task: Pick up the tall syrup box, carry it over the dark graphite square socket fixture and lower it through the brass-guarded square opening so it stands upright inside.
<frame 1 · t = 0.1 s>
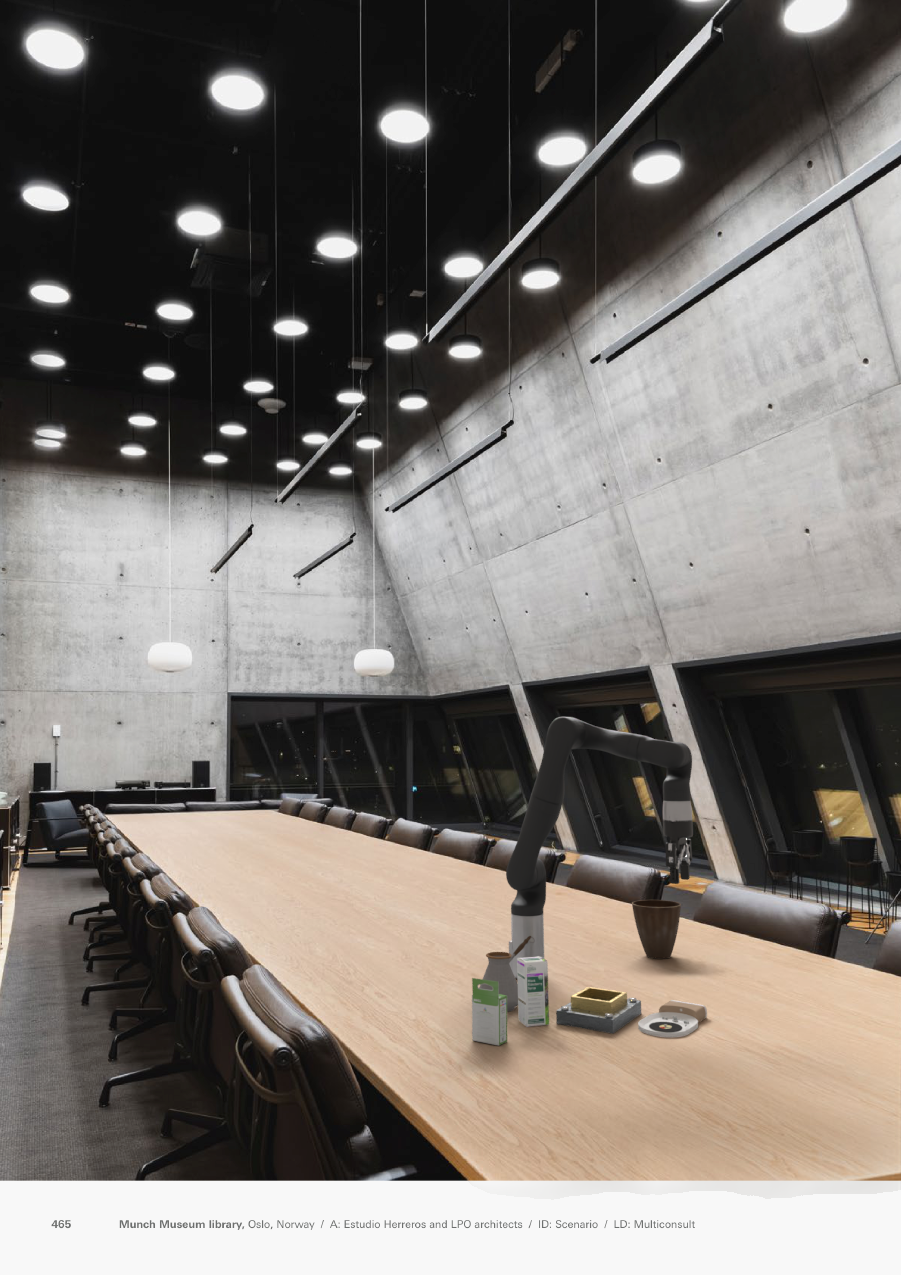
hand: (680, 881, 229), 29 cm above the table, fingers open, 8 cm apart
coffee pot: (510, 1004, 222), on the table
ink box: (490, 1042, 192), on the table
record player: (671, 1027, 203), on the table
plant pot: (658, 957, 272), on the table
syrup box: (533, 1023, 206), on the table
square socket fixture: (599, 1018, 208), on the table
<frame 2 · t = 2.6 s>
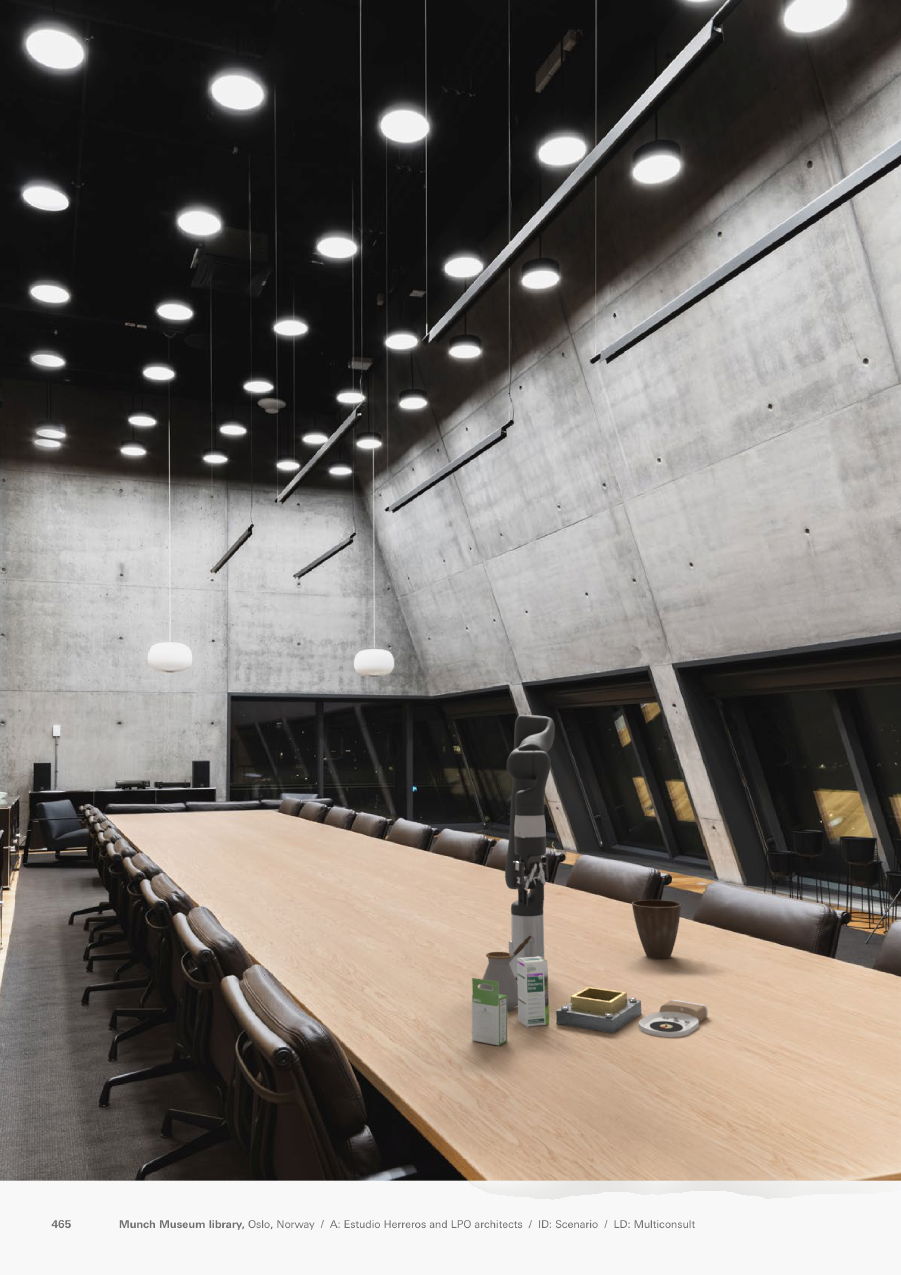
hand: (531, 903, 209), 27 cm above the table, fingers open, 8 cm apart
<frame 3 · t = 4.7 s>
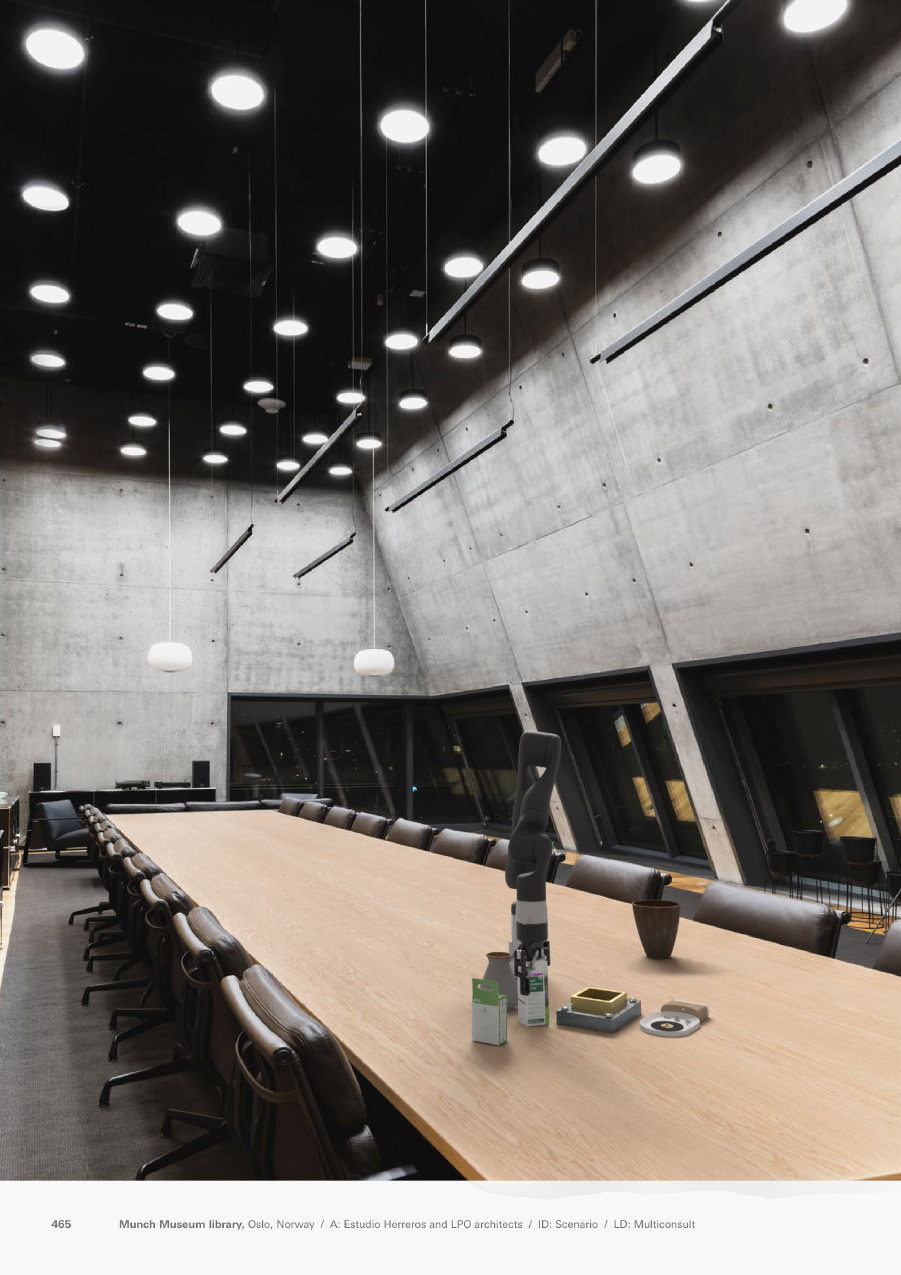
hand: (533, 991, 206), 7 cm above the table, fingers closed on syrup box, 8 cm apart
syrup box: (533, 1023, 206), on the table, touching gripper
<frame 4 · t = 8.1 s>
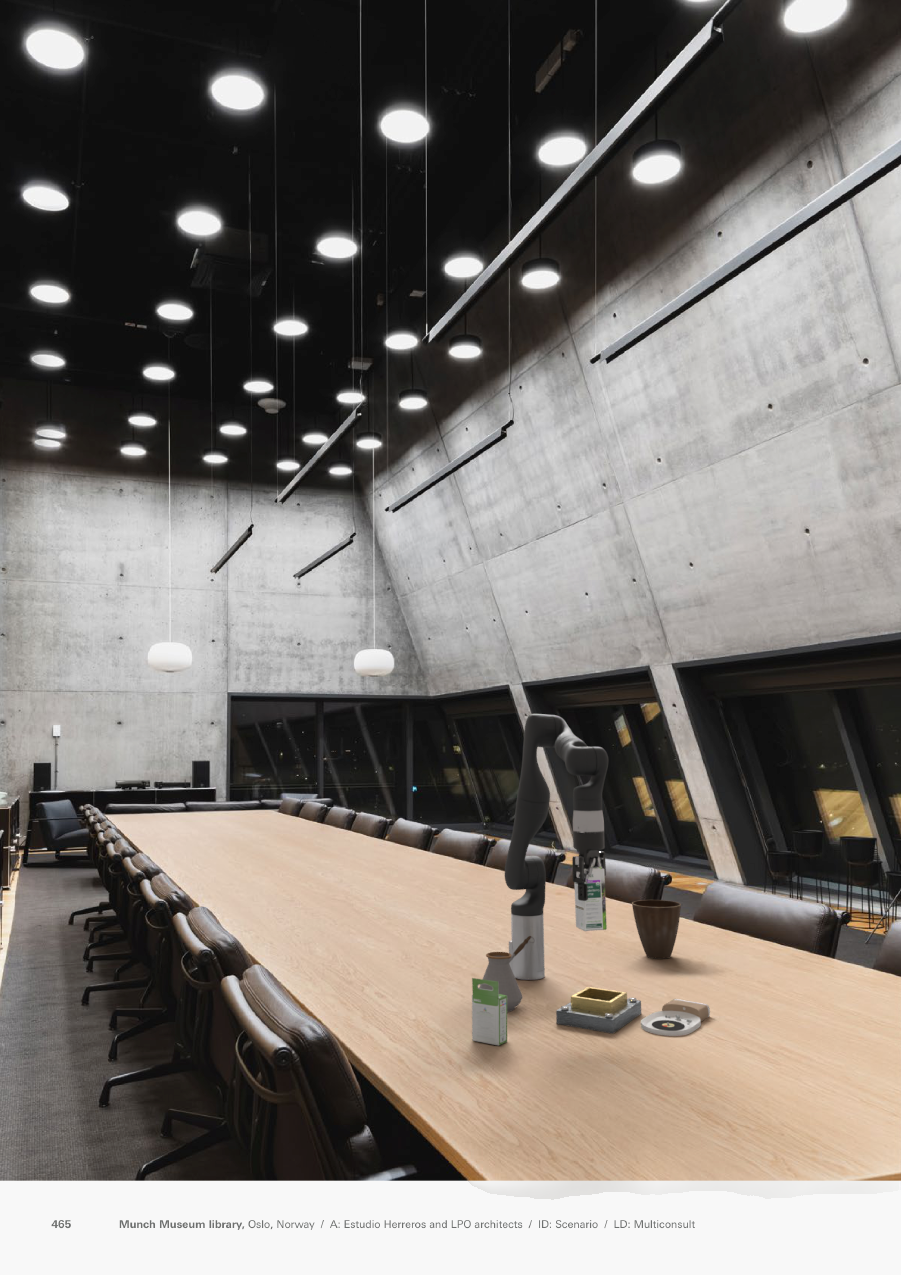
hand: (590, 898, 212), 28 cm above the table, fingers closed on syrup box, 8 cm apart
syrup box: (590, 929, 211), point 21 cm above the table, touching gripper
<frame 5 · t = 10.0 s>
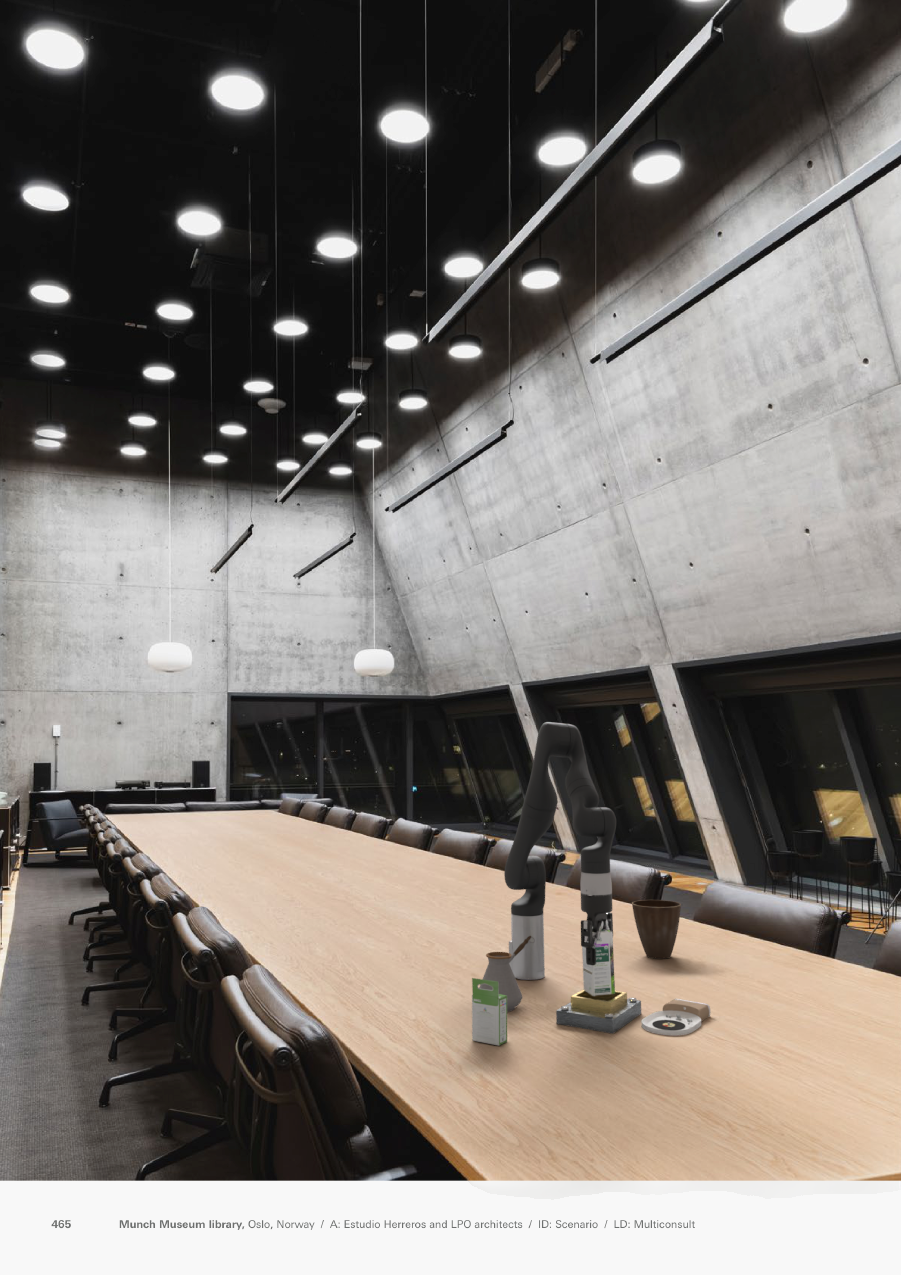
hand: (598, 961, 210), 13 cm above the table, fingers closed on syrup box, 8 cm apart
syrup box: (598, 993, 209), point 6 cm above the table, touching gripper
when the fingers open (8 cm above the table, at t = 11.6 s): syrup box drops 1 cm, resting in square socket fixture.
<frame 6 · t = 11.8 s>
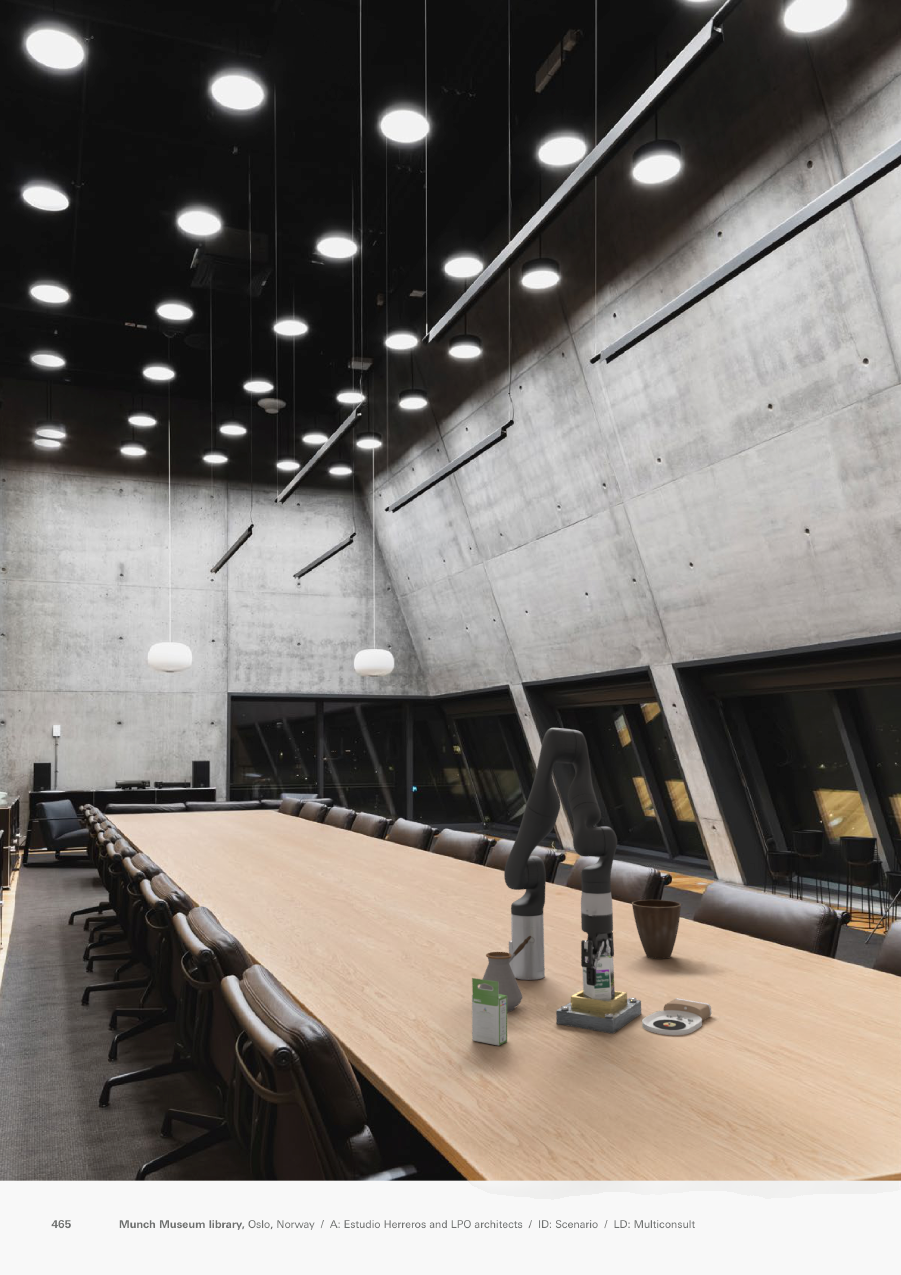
hand: (598, 981, 210), 9 cm above the table, fingers open, 8 cm apart
syrup box: (599, 1019, 209), resting in square socket fixture, touching gripper
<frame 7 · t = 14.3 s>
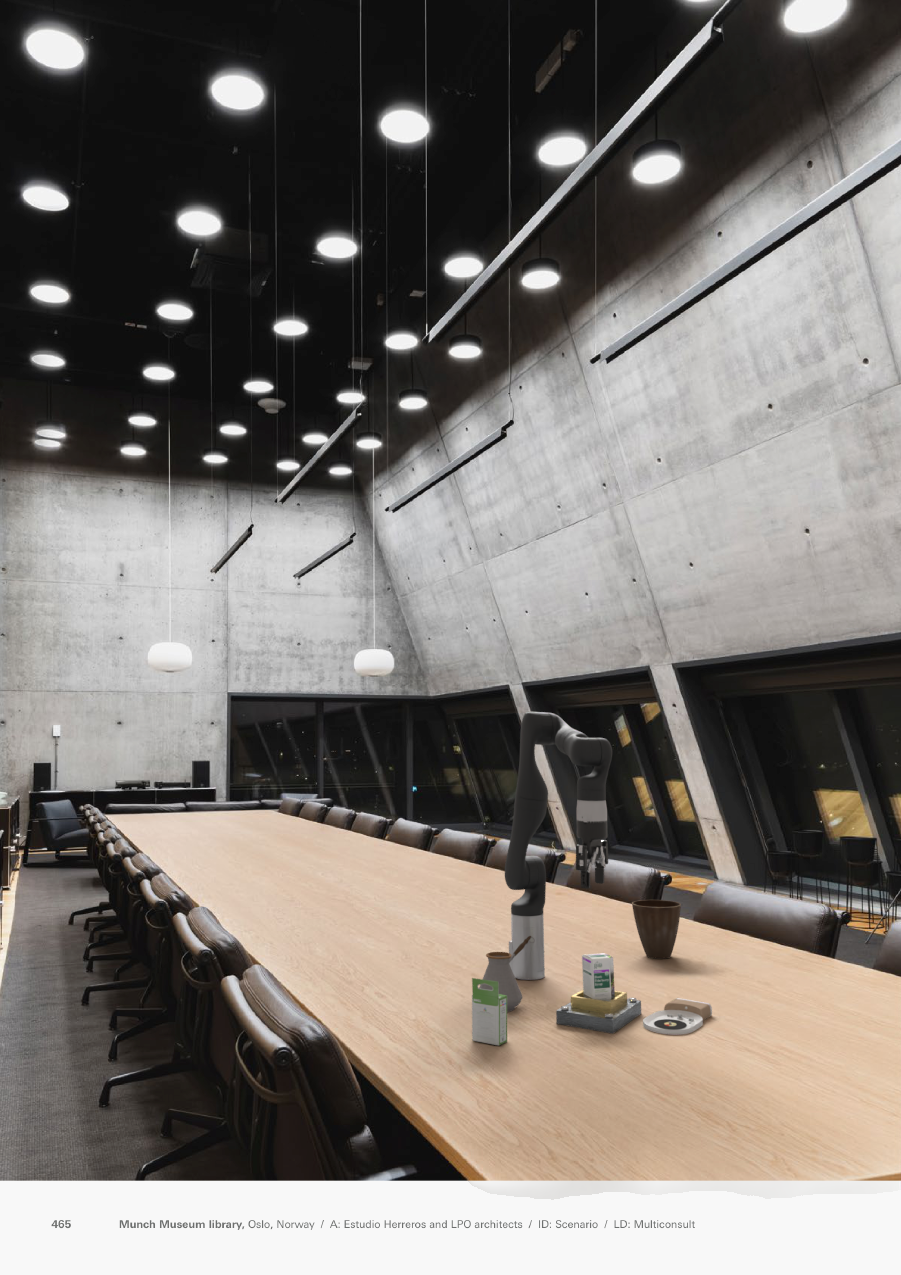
hand: (592, 885, 216), 30 cm above the table, fingers open, 8 cm apart
syrup box: (599, 1019, 209), resting in square socket fixture
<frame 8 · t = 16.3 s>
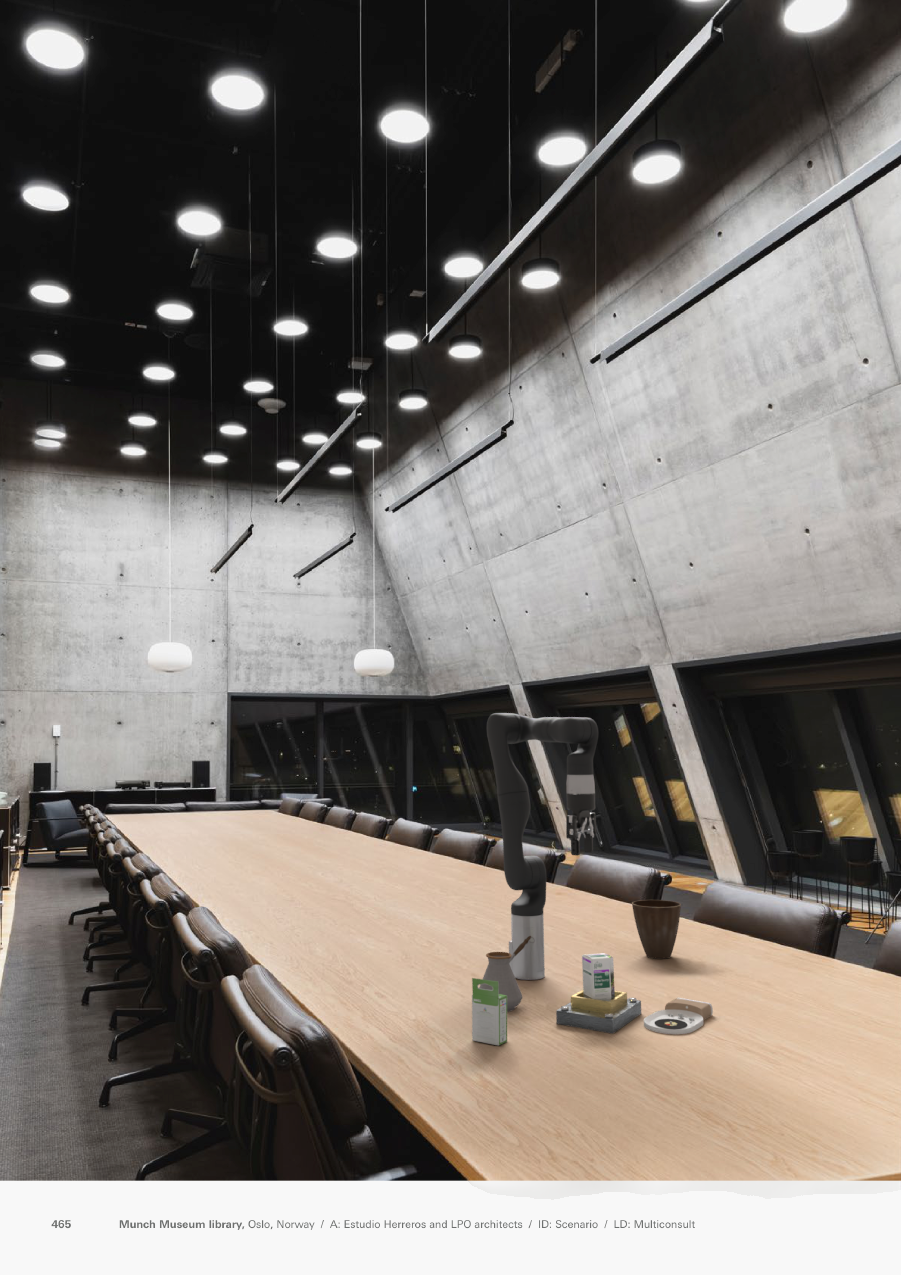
hand: (582, 853, 233), 36 cm above the table, fingers open, 8 cm apart
at the end: syrup box 0.2 cm off-centre on the square socket fixture, point 0.0 cm above the square socket fixture's base; syrup box tilted 0°; the gripper is holding nothing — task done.
